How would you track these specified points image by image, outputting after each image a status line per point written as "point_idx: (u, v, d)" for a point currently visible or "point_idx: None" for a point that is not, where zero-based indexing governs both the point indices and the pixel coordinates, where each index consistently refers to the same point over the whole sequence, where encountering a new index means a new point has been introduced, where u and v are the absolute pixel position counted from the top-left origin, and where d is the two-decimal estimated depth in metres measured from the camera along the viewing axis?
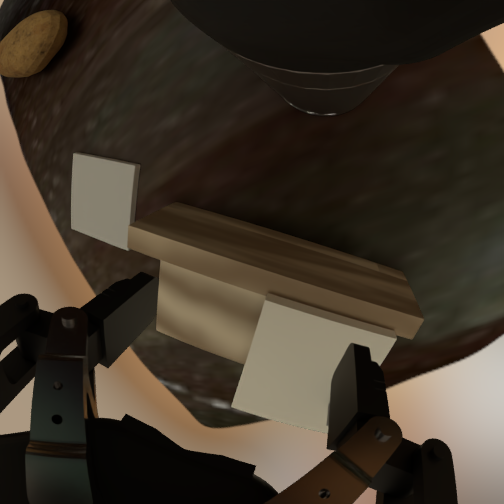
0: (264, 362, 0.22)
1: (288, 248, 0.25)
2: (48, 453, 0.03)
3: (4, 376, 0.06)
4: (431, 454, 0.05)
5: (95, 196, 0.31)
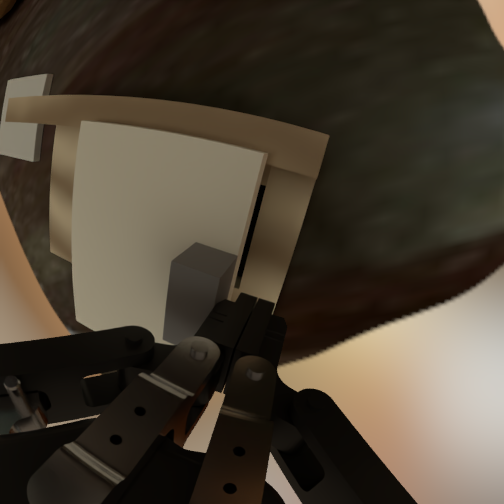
0: (88, 225, 0.14)
1: None
2: (81, 461, 0.03)
3: (80, 397, 0.06)
4: (306, 402, 0.07)
5: None
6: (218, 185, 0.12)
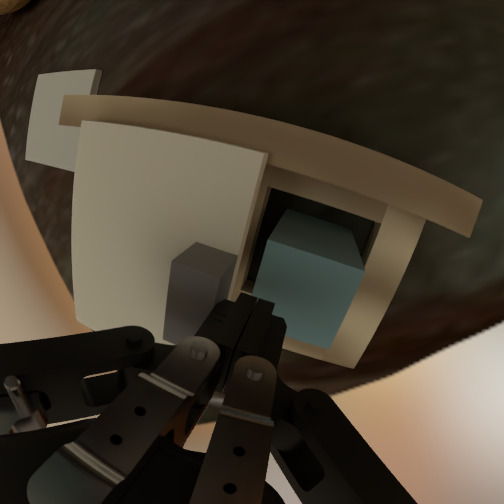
0: (88, 225, 0.14)
1: None
2: (81, 461, 0.03)
3: (80, 397, 0.06)
4: (306, 402, 0.07)
5: (52, 114, 0.22)
6: (219, 184, 0.12)
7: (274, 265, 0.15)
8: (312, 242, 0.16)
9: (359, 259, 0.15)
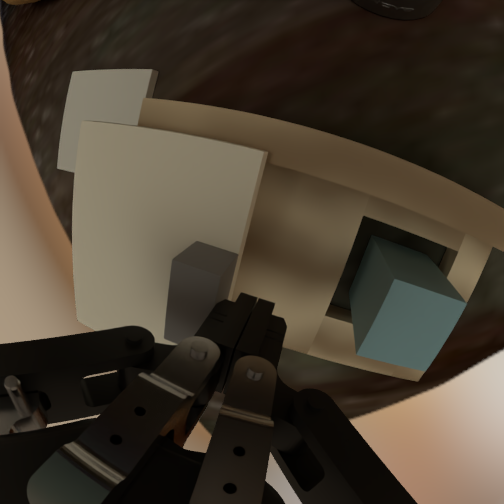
0: (88, 225, 0.14)
1: None
2: (81, 461, 0.03)
3: (80, 397, 0.06)
4: (306, 402, 0.07)
5: (93, 118, 0.21)
6: (219, 183, 0.12)
7: (395, 302, 0.14)
8: (419, 276, 0.15)
9: (455, 290, 0.14)
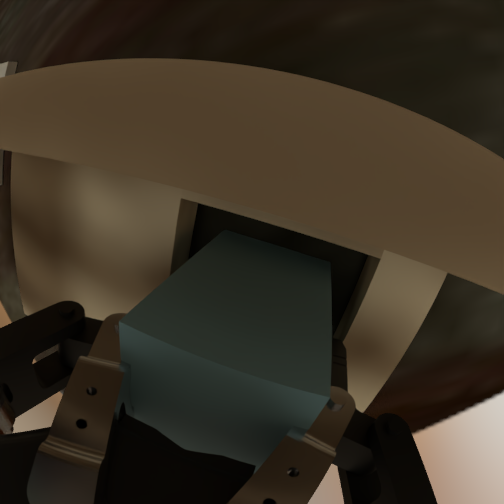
0: None
1: None
2: (62, 454, 0.03)
3: (35, 379, 0.06)
4: (386, 428, 0.06)
5: None
6: None
7: (141, 367, 0.07)
8: (229, 315, 0.08)
9: (327, 351, 0.07)
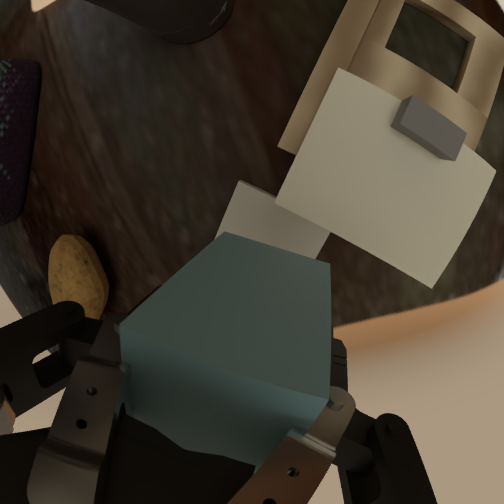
0: (360, 223, 0.18)
1: None
2: (62, 454, 0.03)
3: (35, 379, 0.06)
4: (386, 428, 0.06)
5: None
6: (354, 98, 0.16)
7: (142, 369, 0.07)
8: (229, 317, 0.08)
9: (326, 353, 0.07)
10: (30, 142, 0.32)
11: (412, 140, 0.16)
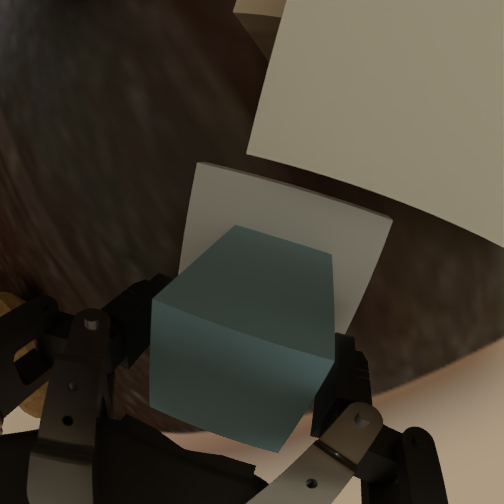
0: None
1: None
2: (54, 453, 0.03)
3: (17, 377, 0.06)
4: (412, 442, 0.06)
5: None
6: None
7: (170, 340, 0.08)
8: (246, 295, 0.09)
9: (331, 325, 0.08)
10: None
11: None
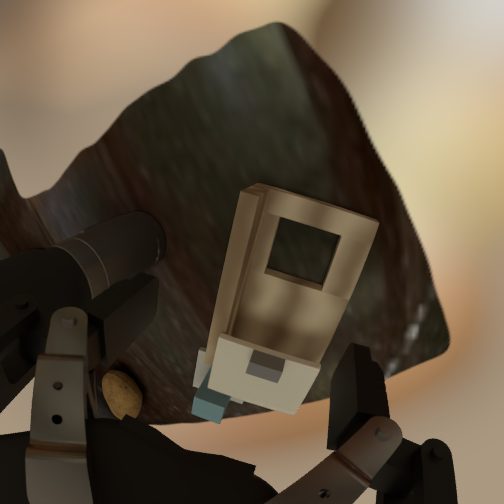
0: (247, 395, 0.37)
1: None
2: (48, 453, 0.03)
3: (4, 376, 0.06)
4: (431, 454, 0.05)
5: None
6: (229, 350, 0.35)
7: (197, 402, 0.42)
8: (211, 393, 0.43)
9: (227, 400, 0.42)
10: None
11: None
